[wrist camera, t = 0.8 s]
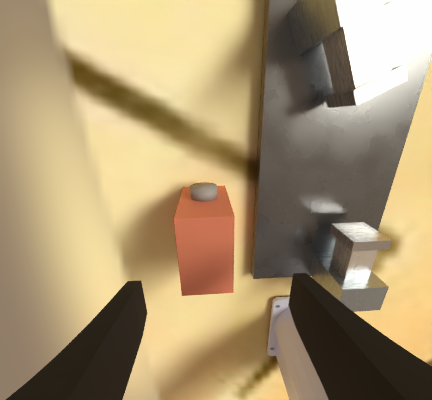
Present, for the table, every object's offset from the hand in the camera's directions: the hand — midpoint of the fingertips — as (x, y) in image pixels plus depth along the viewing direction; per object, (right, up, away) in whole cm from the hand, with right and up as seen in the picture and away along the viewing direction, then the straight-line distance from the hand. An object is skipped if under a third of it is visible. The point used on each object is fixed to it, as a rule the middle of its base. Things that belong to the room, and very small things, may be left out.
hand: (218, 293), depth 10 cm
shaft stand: (+9, +9, +7) cm, 14 cm away
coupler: (-1, +3, +9) cm, 10 cm away
